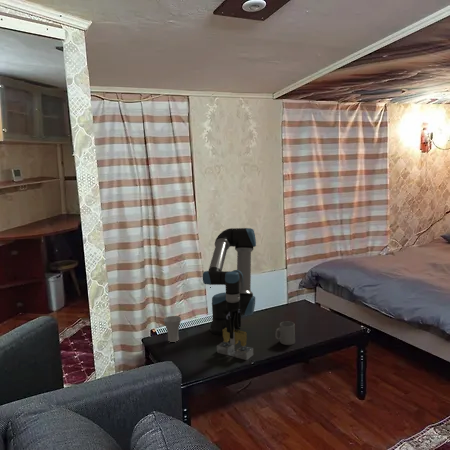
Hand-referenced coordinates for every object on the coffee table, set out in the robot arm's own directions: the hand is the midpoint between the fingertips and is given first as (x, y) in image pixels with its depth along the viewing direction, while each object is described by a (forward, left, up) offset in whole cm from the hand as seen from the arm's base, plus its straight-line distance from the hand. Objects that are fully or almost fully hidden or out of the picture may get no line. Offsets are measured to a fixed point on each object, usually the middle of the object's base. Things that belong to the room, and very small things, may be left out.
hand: (234, 342), depth 225 cm
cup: (-42, -3, -7) cm, 42 cm away
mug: (+17, +26, -7) cm, 32 cm away
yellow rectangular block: (0, 0, 0) cm, 0 cm away
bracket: (0, 0, -7) cm, 7 cm away
